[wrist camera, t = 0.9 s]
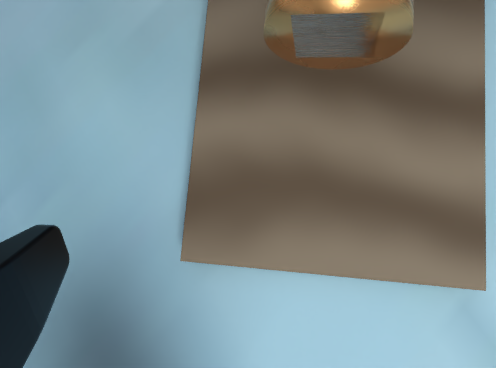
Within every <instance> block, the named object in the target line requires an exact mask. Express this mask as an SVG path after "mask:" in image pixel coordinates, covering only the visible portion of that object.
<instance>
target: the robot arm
mask: <svg viewBox="0 0 496 368" xmlns="http://www.w3.org/2000/svg"><path fill="white" fill-rule="evenodd" d="M68 265H69V253H68V251H67V248H66V245H65V242H64V239H63V236H62V233H61V231H60V229H59V228H58V227H57V226H55V225H35V226H33V227H31V228H29V229H27V230H25V231H23V232H21V233H19V234H17V235H15V236H13V237H11V238H9V239H7V240H5V241H3V242H1V243H0V368H23V366H24V364H25V362H26V360H27V359H28V357H29V355H30V353H31V351H32V349H33V347H34V345H35V343H36V341H37V339H38V337H39V335H40V333H41V331H42V329H43V327H44V325H45V322H46V320H47V318H48V315H49V313H50V310H51V308H52V305H53V303H54V300H55V298H56V295H57V293H58V290H59V288H60V285H61V283H62V281H63V278H64V276H65V273H66V271H67V268H68Z"/></svg>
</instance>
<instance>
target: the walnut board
mask: <svg viewBox="0 0 496 368" xmlns="http://www.w3.org/2000/svg"><path fill="white" fill-rule="evenodd" d="M265 10H266V0H208V8H207V17H206V26H205V36H204V45H203V54H202V64H201V73H200V82H199V92H198V101H197V110H196V120H195V129H194V138H193V148H192V157H191V166H190V176H189V185H188V194H187V204H186V213H185V222H184V232H183V241H182V250H181V260H180V261H187V262H197V263H207V264H218V265H228V266H238V267H248V268H259V269H269V270H279V271H289V272H299V273H310V274H320V275H330V276H340V277H351V278H361V279H371V280H381V281H391V282H402V283H412V284H422V285H432V286H443V287H453V288H463V289H473V290H483V291H486V215H485V0H414V19H413V33H412V37H411V38H410V40H409V42H408V43H407V44H406V45H405V46H404V47H403V48H402V49H401V50H400V51H398V52H397V53H396V54H394V55H392V56H390V57H389V58H387V59H384V60H382V61H379V62H377V63H374V64H370V65H366V66H362V67H357V68H350V69H317V68H310V67H305V66H301V65H297V64H294V63H291V62H289V61H287V60H284V59H282V58H281V57H279V56H277V55H276V54H275V53H274V52H272V50H271V49H270V48H269V47H268V46H267V44H266V42H265V40H264V22H265Z"/></svg>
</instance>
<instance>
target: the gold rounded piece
mask: <svg viewBox="0 0 496 368" xmlns="http://www.w3.org/2000/svg"><path fill="white" fill-rule="evenodd" d="M413 19H414V0H266V10H265V22H264V40H265V42H266V44H267V46H268V47H269V48H270V49H271V50H272V52H274V53H275V54H276V55H277V56H279V57H281V58H282V59H284V60H287V61H289V62H291V63H294V64H297V65H301V66H305V67H310V68H317V69H350V68H357V67H362V66H366V65H370V64H374V63H377V62H379V61H382V60H384V59H387V58H389V57H390V56H392V55H394V54H396V53H397V52H398V51H400V50H401V49H402V48H403V47H404V46H405V45H406V44H407V43H408V42H409V40H410V38H411V37H412V33H413Z"/></svg>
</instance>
